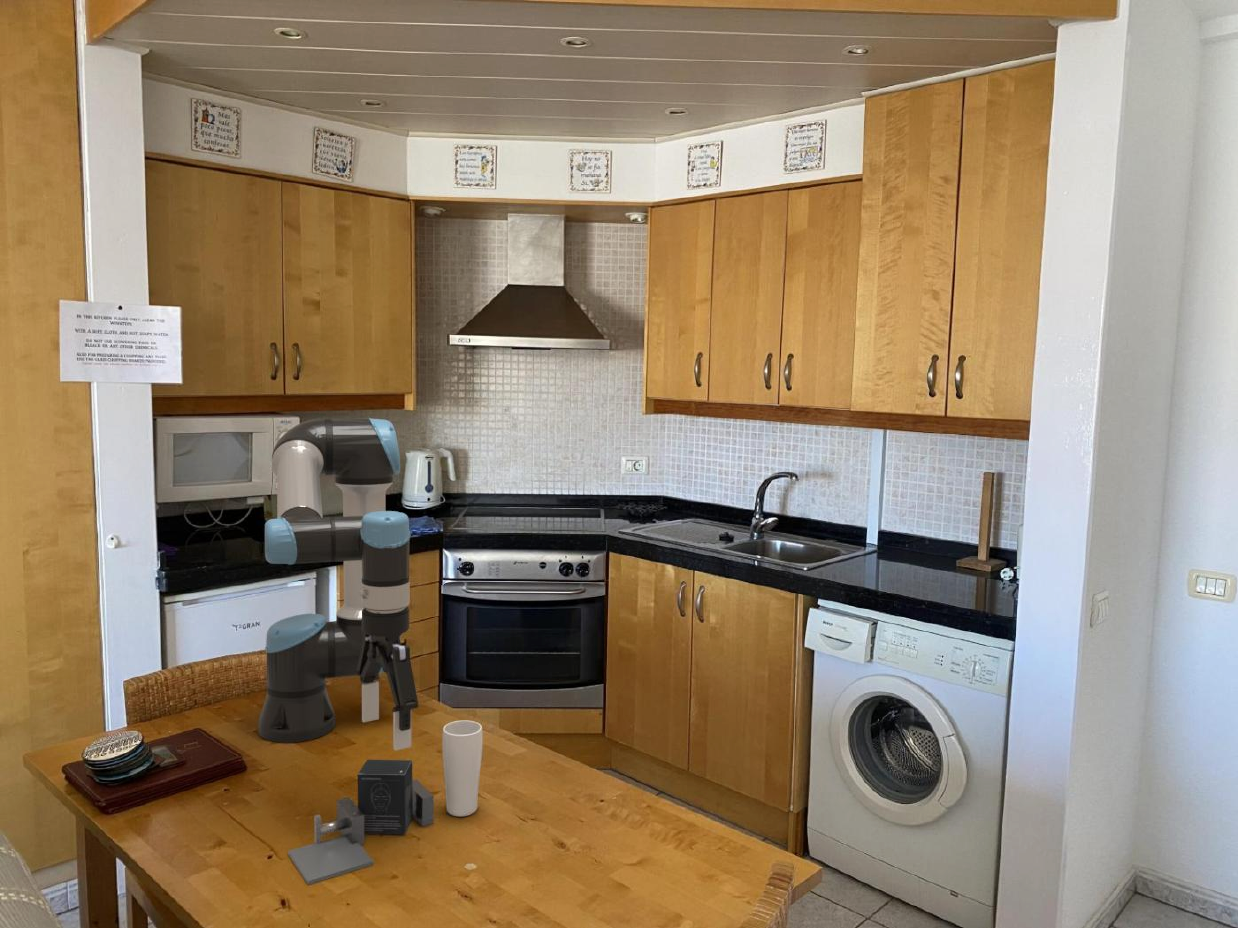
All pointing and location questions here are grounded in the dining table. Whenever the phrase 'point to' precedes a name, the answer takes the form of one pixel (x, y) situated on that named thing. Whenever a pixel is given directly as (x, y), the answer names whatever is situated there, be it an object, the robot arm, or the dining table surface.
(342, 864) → the mat
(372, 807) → the box
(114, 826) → the dining table surface
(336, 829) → the vise
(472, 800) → the drinking glass
